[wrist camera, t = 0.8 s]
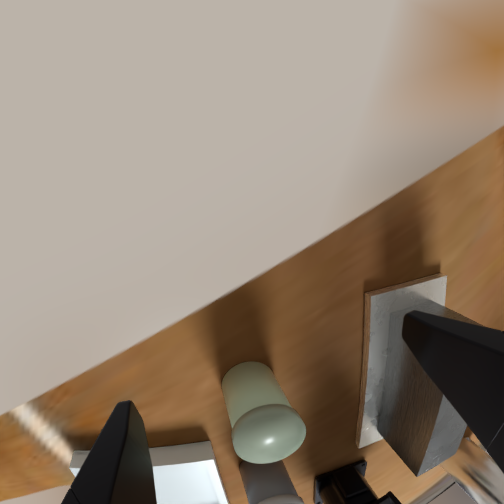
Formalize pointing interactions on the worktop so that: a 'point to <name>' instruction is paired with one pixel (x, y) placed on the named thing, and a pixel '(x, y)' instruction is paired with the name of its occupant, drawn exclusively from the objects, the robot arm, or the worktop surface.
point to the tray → (180, 474)
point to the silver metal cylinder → (476, 473)
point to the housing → (405, 379)
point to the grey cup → (268, 483)
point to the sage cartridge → (260, 414)
